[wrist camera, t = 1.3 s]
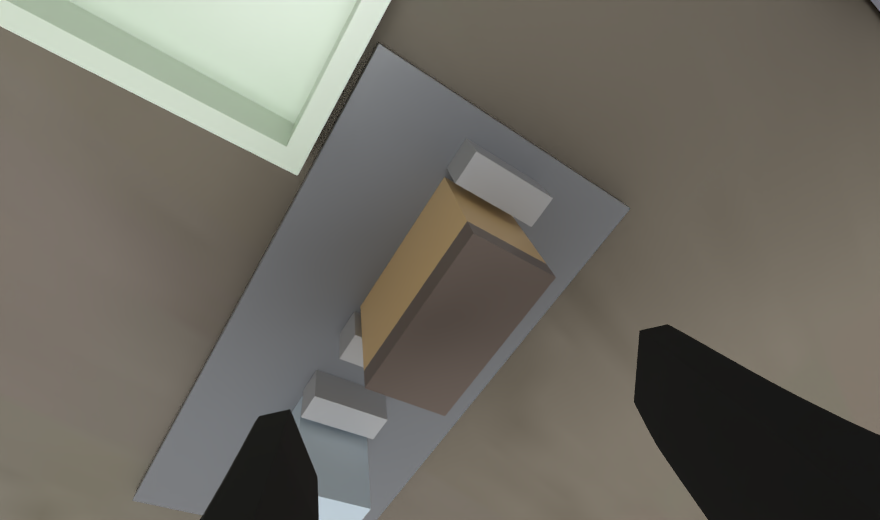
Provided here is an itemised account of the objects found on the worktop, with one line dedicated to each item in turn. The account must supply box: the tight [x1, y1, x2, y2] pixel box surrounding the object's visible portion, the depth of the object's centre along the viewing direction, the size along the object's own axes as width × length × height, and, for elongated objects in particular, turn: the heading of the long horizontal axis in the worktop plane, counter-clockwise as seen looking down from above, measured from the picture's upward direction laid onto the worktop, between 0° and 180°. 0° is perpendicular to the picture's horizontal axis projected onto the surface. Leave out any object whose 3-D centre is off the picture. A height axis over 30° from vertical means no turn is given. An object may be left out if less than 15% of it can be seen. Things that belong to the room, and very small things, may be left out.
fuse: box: [292, 396, 371, 520], centre depth 21 cm, size 3×6×4 cm, turn 147°
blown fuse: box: [360, 177, 556, 416], centre depth 17 cm, size 3×6×4 cm, turn 147°
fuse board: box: [132, 42, 630, 520], centre depth 20 cm, size 11×22×2 cm, turn 147°
